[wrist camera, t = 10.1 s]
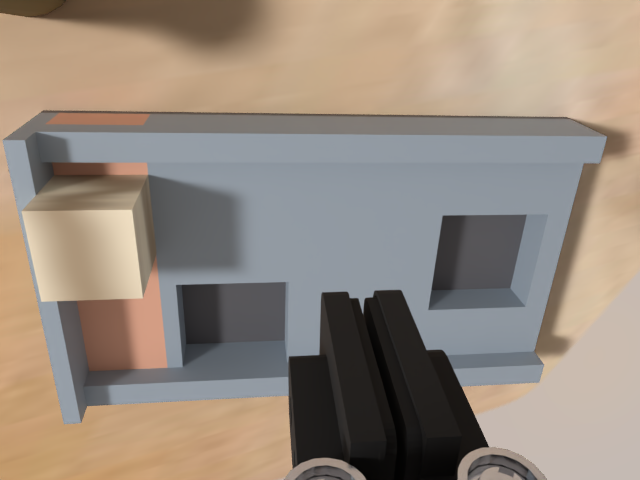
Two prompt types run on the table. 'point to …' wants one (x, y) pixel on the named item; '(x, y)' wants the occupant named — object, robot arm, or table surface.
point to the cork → (29, 7)
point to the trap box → (307, 241)
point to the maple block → (91, 237)
